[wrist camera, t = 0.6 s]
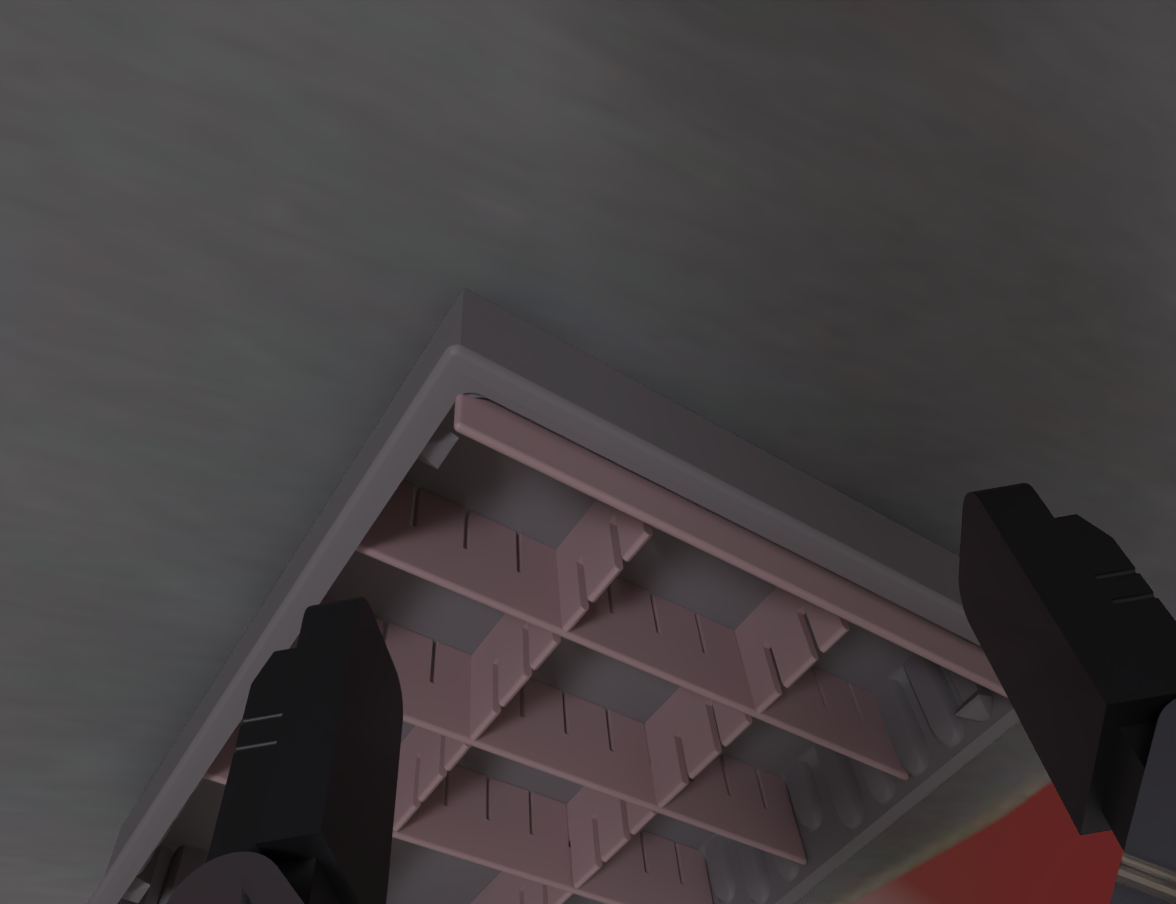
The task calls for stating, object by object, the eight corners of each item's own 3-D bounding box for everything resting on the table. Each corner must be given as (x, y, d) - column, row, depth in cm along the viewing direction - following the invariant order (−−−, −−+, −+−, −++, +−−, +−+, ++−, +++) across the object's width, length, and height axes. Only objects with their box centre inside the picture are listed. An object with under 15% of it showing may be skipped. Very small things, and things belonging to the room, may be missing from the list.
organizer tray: (111, 808, 58) (48, 982, 50) (458, 246, 41) (448, 373, 32) (582, 945, 70) (593, 1104, 62) (1010, 555, 52) (1106, 705, 44)
